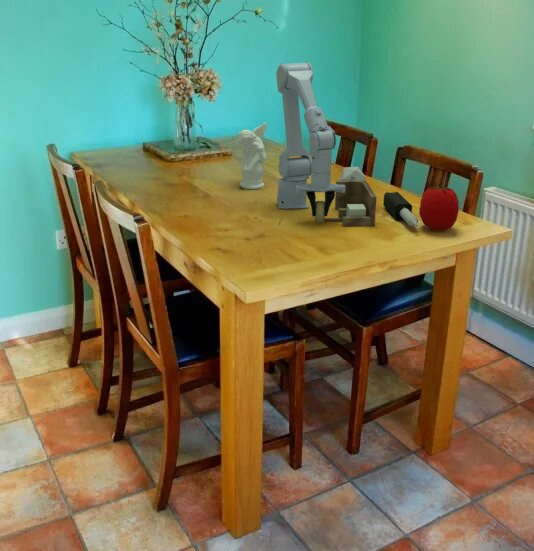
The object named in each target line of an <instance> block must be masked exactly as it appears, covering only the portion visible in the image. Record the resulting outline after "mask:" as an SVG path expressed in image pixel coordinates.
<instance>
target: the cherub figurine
mask: <svg viewBox="0 0 534 551" xmlns="http://www.w3.org/2000/svg"><path fill="white" fill-rule="evenodd" d="M267 124H268V123H266V121H264V122H263V123H262V125H259V126H256V127H255V128H254V129H253V131H252V130H250V129H243V130H241V131H238V142H239V144H240V145H241V149H242V152H241V156H240V157H241V158H240V161H241V168H240V171H241V176H242V178H241V182H239V186H240V187H241V188H243V189H246V190H258V189H260V190H261V189H263V188H264V186H265V183H264V182H263V178H262V177H263V175H264V166H263V164H264V163H265V162H266V160H267V154H266V150H265V145H264V142H263V140H262V138H263V137H264V135H265V133H266V131H267V128H268V125H267Z"/></svg>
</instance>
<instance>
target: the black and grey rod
mask: <svg viewBox="0 0 534 551" xmlns="http://www.w3.org/2000/svg"><path fill="white" fill-rule="evenodd" d="M382 203H383V207H384V208H385V209H386V210H387V212H389V213H390V215H392V216H393V218H394V219H396V221H405V222H406V223H407V225H409V227H416V228H417V227H419V224H418V222H419V219H418V218H417V217H416V216H415V215H414V214H413V205H412V204H411V203H410V202H409V201H408V200H407V199H406V198H405V197H404V196H403V195H402V194H400V192H398V191H395V192H388V191H387V192H385V193H384V194H383V202H382Z"/></svg>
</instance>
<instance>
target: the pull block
mask: <svg viewBox="0 0 534 551" xmlns="http://www.w3.org/2000/svg"><path fill="white" fill-rule="evenodd" d="M357 216H366V208H365V206H364V205H363V204H347V213H346V217H357ZM325 217H326V216H325V200H315V216H314V222H315V223H317V224H323V223H325V222H342V218H339V217H338V218H336V217H335V218H334V217H333V218H331V217H330V218H329V217H327V218H325Z"/></svg>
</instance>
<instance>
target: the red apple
mask: <svg viewBox="0 0 534 551" xmlns="http://www.w3.org/2000/svg"><path fill="white" fill-rule="evenodd" d="M444 185H445V183H442V185H439V186H432V187H428V188H427V189H426V190H425V191H424V192H423V194H422V197H421V199H420V204H419V212H418V214H419V216H420V219H421V222H422V224H423V225H424V226H425V227H426V228H428V229H430V230H433V231H437V232H438V231H439V232H443V231H448V230H450V229H451V228H453V226H454V225H455V224H456V222H457V220H458V217H459V216H458V215H459V212H460V211H459V209H460V206H459V204H460V202H459V199H458V195H457V193H456V192H455V191H454V189H453V188H450V187H444Z"/></svg>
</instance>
